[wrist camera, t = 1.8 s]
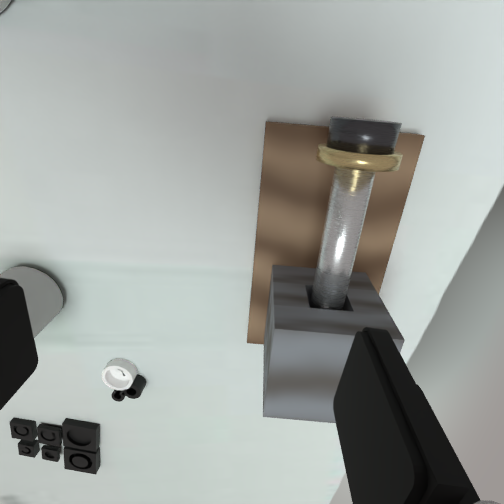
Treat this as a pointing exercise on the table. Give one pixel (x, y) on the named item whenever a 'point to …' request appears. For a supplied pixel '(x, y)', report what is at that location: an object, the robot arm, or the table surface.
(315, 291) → the shaft
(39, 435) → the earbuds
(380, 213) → the block
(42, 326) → the can
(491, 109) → the table surface
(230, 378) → the table surface
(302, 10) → the table surface
